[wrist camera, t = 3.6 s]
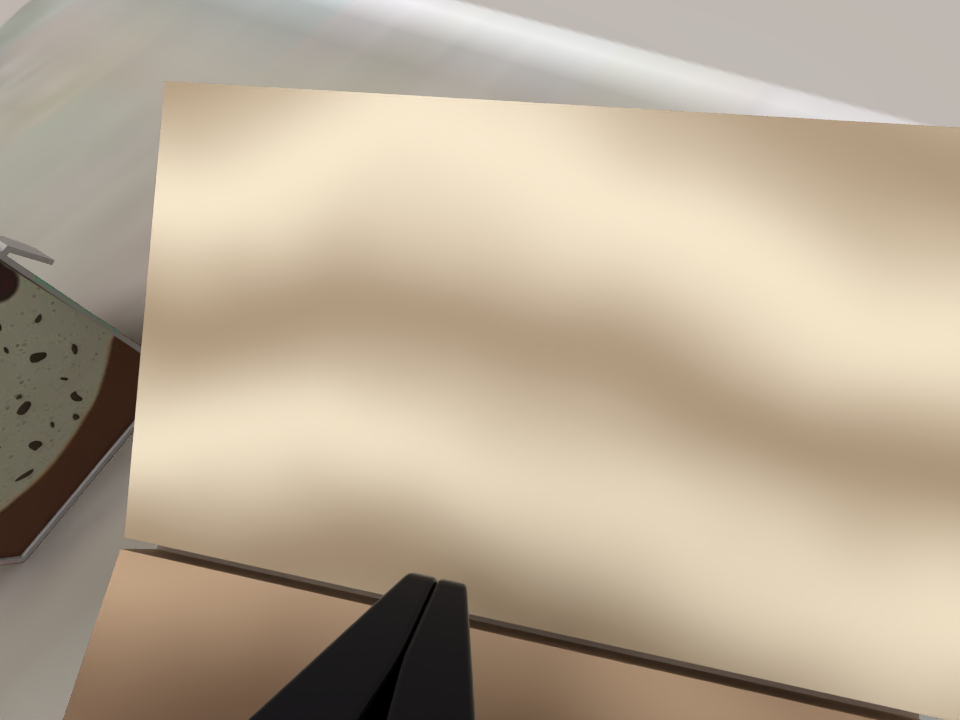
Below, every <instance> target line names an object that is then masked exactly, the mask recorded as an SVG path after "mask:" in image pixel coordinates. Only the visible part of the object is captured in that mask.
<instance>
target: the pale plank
mask: <svg viewBox="0 0 960 720" xmlns="http://www.w3.org/2000/svg"><path fill="white" fill-rule="evenodd" d="M124 538H129V539H134V540H138V541H143V542H147V543H152V544H156V545H161V546H165V547H170V548H174V549H179V550H183V551H188V552H192V553H197V554H201V555H206V556H210V557H215V558H219V559H224V560H228V561H233V562H237V563H242V564H246V565H251V566H255V567H260V568H264V569H269V570H273V571H278V572H282V573H287V574H291V575H296V576H300V577H305V578H309V579H314V580H318V581H323V582H327V583H332V584H336V585H341V586H345V587H350V588H354V589H359V590H364V591H368V592H373V593H377V594H382V595H384V594H385V593H387V592H388V591H389V590H390V589H391V588H392V587H393V586H394V585H395V584H396V583H397V582H399V581H400V580H401V579H402V578H403V577H404V576H405V575H406V574H408V573H411V572H412V573H419V574H424V575H428V576H433V577H435V578H436V579H437V582H438V581H439V580H440V579H447V580H452V581H456V582H461V583H464V584H465V585H466V586H467V592H468V608H469V614H472V615H476V616H481V617H485V618H490V619H494V620H499V621H503V622H508V623H512V624H517V625H521V626H526V627H530V628H535V629H539V630H544V631H548V632H553V633H557V634H562V635H566V636H571V637H575V638H580V639H584V640H589V641H594V642H598V643H603V644H607V645H612V646H616V647H621V648H625V649H630V650H634V651H639V652H643V653H648V654H652V655H657V656H661V657H666V658H670V659H675V660H679V661H684V662H688V663H693V664H697V665H702V666H706V667H711V668H715V669H720V670H724V671H729V672H733V673H738V674H742V675H747V676H751V677H756V678H760V679H765V680H769V681H774V682H778V683H783V684H787V685H792V686H796V687H801V688H805V689H810V690H814V691H819V692H824V693H828V694H833V695H837V696H842V697H846V698H851V699H855V700H860V701H864V702H869V703H873V704H878V705H882V706H887V707H891V708H896V709H900V710H905V711H909V712H914V713H918V714H923V715H927V716H932V717H936V718H941V719H945V720H959V719H960V128H958V127H941V126H924V125H907V124H889V123H872V122H855V121H838V120H821V119H804V118H787V117H770V116H752V115H735V114H718V113H701V112H684V111H667V110H650V109H633V108H615V107H598V106H581V105H564V104H547V103H530V102H513V101H496V100H478V99H461V98H444V97H427V96H410V95H393V94H376V93H359V92H342V91H324V90H307V89H290V88H273V87H256V86H239V85H222V84H205V83H187V82H170V81H165V87H164V98H163V109H162V120H161V132H160V143H159V154H158V165H157V177H156V188H155V199H154V210H153V221H152V233H151V244H150V255H149V266H148V277H147V289H146V300H145V311H144V322H143V334H142V345H141V356H140V367H139V378H138V390H137V401H136V412H135V423H134V435H133V446H132V457H131V468H130V479H129V491H128V502H127V513H126V524H125V535H124Z"/></svg>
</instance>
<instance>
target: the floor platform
mask: <svg viewBox="0 0 960 720" xmlns="http://www.w3.org/2000/svg"><path fill="white" fill-rule="evenodd" d="M382 596H383V595H382V594H377V593H373V592H368V591H364V590H359V589H354V588H350V587H345V586H341V585H336V584H332V583H327V582H323V581H318V580H314V579H309V578H305V577H300V576H296V575H291V574H287V573H282V572H278V571H273V570H269V569H264V568H260V567H255V566H251V565H246V564H242V563H237V562H233V561H228V560H224V559H219V558H215V557H210V556H206V555H201V554H197V553H192V552H188V551H183V550H179V549H174V548H170V547H165V546H161V545H158V546H157V549H120V552H119V555H118V558H117V561H116V564H115V567H114V570H113V573H112V576H111V579H110V582H109V584H108V587H107V590H106V593H105V596H104V599H103V602H102V605H101V608H100V611H99V614H98V617H97V620H96V623H95V626H94V629H93V632H92V635H91V638H90V641H89V644H88V647H87V650H86V653H85V656H84V659H83V662H82V665H81V668H80V671H79V674H78V677H77V680H76V683H75V686H74V688H73V691H72V694H71V697H70V700H69V703H68V706H67V709H66V712H65V715H64V718H63V720H248V719H249V718H250V717H251V716H252V715H253V714H255V713H256V712H257V711H258V710H259V709H260V708H261V707H262V706H263V705H264V704H265V703H267V702H268V701H269V700H270V699H271V698H272V697H273V696H274V695H275V694H276V693H277V692H279V691H280V690H281V689H282V688H283V687H284V686H285V685H286V684H287V683H288V682H289V681H291V680H292V679H293V678H294V677H295V676H296V675H297V674H298V673H299V672H300V671H301V670H303V669H304V668H305V667H306V666H307V665H308V664H309V663H310V662H311V661H312V660H313V659H315V658H316V657H317V656H318V655H319V654H320V653H321V652H322V651H323V650H324V649H325V648H327V647H328V646H329V645H330V644H331V643H332V642H333V641H334V640H335V639H336V638H337V637H339V636H340V635H341V634H342V633H343V632H344V631H345V630H346V629H347V628H348V627H349V626H351V625H352V624H353V623H354V622H355V621H356V620H357V619H358V618H359V617H360V616H361V615H363V614H364V613H365V612H366V611H367V610H368V609H369V608H370V607H371V606H372V605H373V604H375V603H376V602H377V601H378V600H379V599H380V598H381V597H382ZM469 623H470V639H471V655H472V671H473V686H474V702H475V718H476V720H919V714H918V713H914V712H909V711H905V710H900V709H896V708H891V707H887V706H882V705H878V704H873V703H869V702H864V701H860V700H855V699H851V698H846V697H842V696H837V695H833V694H828V693H824V692H819V691H814V690H810V689H805V688H801V687H796V686H792V685H787V684H783V683H778V682H774V681H769V680H765V679H760V678H756V677H751V676H747V675H742V674H738V673H733V672H729V671H724V670H720V669H715V668H711V667H706V666H702V665H697V664H693V663H688V662H684V661H679V660H675V659H670V658H666V657H661V656H657V655H652V654H648V653H643V652H639V651H634V650H630V649H625V648H621V647H616V646H612V645H607V644H603V643H598V642H594V641H589V640H584V639H580V638H575V637H571V636H566V635H562V634H557V633H553V632H548V631H544V630H539V629H535V628H530V627H526V626H521V625H517V624H512V623H508V622H503V621H499V620H494V619H490V618H485V617H481V616H476V615H472V614H469Z"/></svg>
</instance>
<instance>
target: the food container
mask: <svg viewBox="0 0 960 720" xmlns="http://www.w3.org/2000/svg"><path fill="white" fill-rule="evenodd" d="M9 252H10V253H13V254H17V255H20V256H23V257H27V258H30V259H34V260H37V261H40V262H44V263H47V264H50V265H52V264H53V262H54V260H53V259H51V258H50V257H48V256H47V255H45V254H43V253H42V252H40V251H39V250H37V249H35V248H33V247H31V246H28V245H25V244H23V243H20V242H18V241H15V240H12V239H10V238H6V237H3V236H0V565H5V564H14V563H22V562H25V561H26V560H27V558H28V557H29V556H30V555H31V554H32V552H33V551H34V550H35V549H36V548H37V546H38V545H39V544H40V543H41V542H42V540H43V539H44V538H45V537H46V536H47V534H48V533H49V532H50V531H51V530H52V528H53V527H54V526H55V525H56V524H57V522H58V521H59V520H60V519H61V518H62V516H63V515H64V514H65V513H66V512H67V510H68V509H69V508H70V507H71V506H72V504H73V503H74V502H75V501H76V500H77V498H78V497H79V496H80V495H81V494H82V492H83V491H84V490H85V489H86V488H87V486H88V485H89V484H90V483H91V482H92V480H93V479H94V478H95V477H96V476H97V474H98V473H99V472H100V471H101V470H102V468H103V467H104V466H105V465H106V464H107V462H108V461H109V460H110V459H111V458H112V456H113V455H114V454H115V453H116V452H117V450H118V449H119V448H120V447H121V446H122V444H123V443H124V442H125V441H126V440H127V438H128V437H129V436H130V435H131V434H132V432H133V431H134V423H135V412H136V401H137V390H138V378H139V367H140V356H141V346H140V345H138V344H137V343H135V342H134V341H132V340H131V339H129V338H128V337H126V336H125V335H123V334H122V333H120V332H119V331H117V330H116V329H114V328H113V327H111V326H110V325H109V324H107V323H106V322H104V321H103V320H101V319H100V318H98V317H97V316H95V315H94V314H92V313H91V312H89V311H88V310H86V309H85V308H83V307H82V306H80V305H79V304H77V303H76V302H74V301H73V300H71V299H70V298H68V297H67V296H65V295H64V294H63V293H61V292H60V291H58V290H57V289H55V288H54V287H52V286H51V285H49V284H48V283H46V282H45V281H43V280H42V279H40V278H39V277H37V276H36V275H34V274H33V273H31V272H30V271H28V270H27V269H25V268H24V267H22V266H21V265H19V264H18V263H16V262H15V261H14V260H12V259H11V258H9V257H8V256H7V255H8V253H9Z"/></svg>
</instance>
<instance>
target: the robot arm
mask: <svg viewBox="0 0 960 720" xmlns="http://www.w3.org/2000/svg"><path fill="white" fill-rule="evenodd" d="M248 720H476V718H475V702H474V686H473V671H472V655H471V639H470V623H469V608H468V592H467V586H466V585H465V584H464V583H461V582H456V581H452V580H447V579H440V580H439V581H438V582H437V579H436V578H435V577H433V576H428V575H424V574H419V573H412V572H411V573H408V574H406V575H405V576H404V577H403V578H402V579H401V580H400V581H399V582H397V583H396V584H395V585H394V586H393V587H392V588H391V589H390V590H389V591H388V592H387V593H385V594H384V595H383V596H382V597H381V598H380V599H379V600H378V601H377V602H376V603H375V604H373V605H372V606H371V607H370V608H369V609H368V610H367V611H366V612H365V613H364V614H363V615H361V616H360V617H359V618H358V619H357V620H356V621H355V622H354V623H353V624H352V625H351V626H349V627H348V628H347V629H346V630H345V631H344V632H343V633H342V634H341V635H340V636H339V637H337V638H336V639H335V640H334V641H333V642H332V643H331V644H330V645H329V646H328V647H327V648H325V649H324V650H323V651H322V652H321V653H320V654H319V655H318V656H317V657H316V658H315V659H313V660H312V661H311V662H310V663H309V664H308V665H307V666H306V667H305V668H304V669H303V670H301V671H300V672H299V673H298V674H297V675H296V676H295V677H294V678H293V679H292V680H291V681H289V682H288V683H287V684H286V685H285V686H284V687H283V688H282V689H281V690H280V691H279V692H277V693H276V694H275V695H274V696H273V697H272V698H271V699H270V700H269V701H268V702H267V703H265V704H264V705H263V706H262V707H261V708H260V709H259V710H258V711H257V712H256V713H255V714H253V715H252V716H251V717H250V718H249V719H248Z"/></svg>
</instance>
